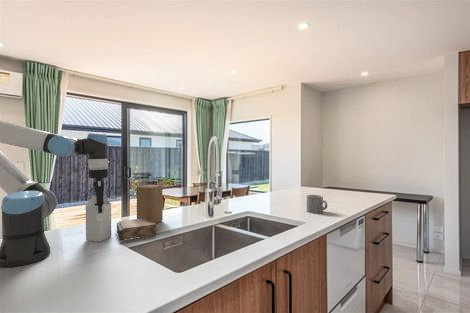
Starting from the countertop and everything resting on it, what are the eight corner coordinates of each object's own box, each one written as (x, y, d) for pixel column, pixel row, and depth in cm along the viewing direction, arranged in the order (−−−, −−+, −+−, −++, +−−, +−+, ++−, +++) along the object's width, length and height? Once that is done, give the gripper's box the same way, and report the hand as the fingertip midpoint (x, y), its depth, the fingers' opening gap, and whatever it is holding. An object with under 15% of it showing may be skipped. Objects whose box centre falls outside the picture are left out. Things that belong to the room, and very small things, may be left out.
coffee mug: (303, 211, 166) (303, 195, 166) (314, 209, 171) (314, 194, 171) (319, 215, 155) (319, 198, 155) (330, 213, 160) (330, 197, 160)
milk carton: (100, 242, 109) (99, 197, 108) (85, 241, 110) (85, 196, 110) (111, 236, 116) (111, 194, 115) (97, 235, 117) (97, 194, 117)
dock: (119, 240, 111) (119, 229, 111) (116, 231, 123) (116, 221, 123) (155, 234, 118) (155, 224, 118) (149, 227, 130) (149, 217, 130)
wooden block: (136, 223, 136) (135, 186, 136) (148, 219, 146) (148, 184, 145) (151, 225, 133) (150, 187, 132) (163, 221, 142) (163, 185, 142)
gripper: (110, 170, 103) (111, 222, 104) (106, 167, 125) (107, 210, 126) (88, 171, 100) (90, 225, 100) (88, 167, 121) (89, 212, 122)
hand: (99, 217), depth 113 cm, fingers open, 13 cm apart
